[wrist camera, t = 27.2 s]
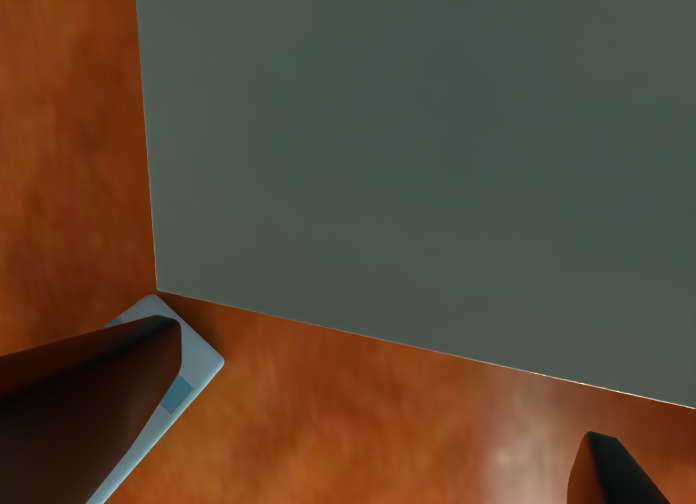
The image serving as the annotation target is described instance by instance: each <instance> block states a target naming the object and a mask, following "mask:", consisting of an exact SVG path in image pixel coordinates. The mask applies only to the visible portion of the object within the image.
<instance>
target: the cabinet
mask: <svg viewBox="0 0 696 504" xmlns="http://www.w3.org/2000/svg"><path fill="white" fill-rule="evenodd" d="M136 12H137V25H138V39H139V53H140V66H141V80H142V93H143V107H144V121H145V134H146V148H147V161H148V175H149V189H150V202H151V216H152V229H153V243H154V257H155V270H156V284H157V290H158V291H162V292H166V293H171V294H175V295H180V296H185V297H189V298H194V299H198V300H203V301H207V302H212V303H216V304H221V305H225V306H230V307H234V308H239V309H244V310H248V311H253V312H257V313H262V314H266V315H271V316H275V317H280V318H284V319H289V320H293V321H298V322H303V323H307V324H312V325H316V326H321V327H325V328H330V329H334V330H339V331H343V332H348V333H352V334H357V335H361V336H366V337H371V338H375V339H380V340H384V341H389V342H393V343H398V344H402V345H407V346H411V347H416V348H420V349H425V350H430V351H434V352H439V353H443V354H448V355H452V356H457V357H461V358H466V359H470V360H475V361H479V362H484V363H488V364H493V365H498V366H502V367H507V368H511V369H516V370H520V371H525V372H529V373H534V374H538V375H543V376H547V377H552V378H557V379H561V380H566V381H570V382H575V383H579V384H584V385H588V386H593V387H597V388H602V389H606V390H611V391H616V392H620V393H625V394H629V395H634V396H638V397H643V398H647V399H652V400H656V401H661V402H665V403H670V404H674V405H679V406H684V407H688V408H693V409H696V0H136Z"/></svg>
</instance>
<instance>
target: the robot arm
mask: <svg viewBox="0 0 696 504" xmlns="http://www.w3.org/2000/svg"><path fill="white" fill-rule="evenodd" d="M181 364H182V330H181V325H180V323H179V321H178V320H176V319H173V318H169V317H165V316H162V315H152V316H149V317H145V318H141V319H138V320H134V321H130V322H127V323H123V324H119V325H116V326H112V327H108V328H105V329H101V330H97V331H94V332H90V333H86V334H83V335H79V336H75V337H72V338H68V339H64V340H61V341H57V342H53V343H50V344H46V345H42V346H39V347H35V348H31V349H27V350H24V351H20V352H16V353H13V354H9V355H5V356H2V357H0V504H86V503H87V502H88V500H89V499H90V498H91V497H92V495H93V494H94V493H95V492H96V490H97V489H98V488H99V487H100V485H101V484H102V483H103V482H104V480H105V479H106V478H107V477H108V475H109V474H110V473H111V472H112V470H113V469H114V468H115V467H116V465H117V464H118V463H119V462H120V461H121V459H122V458H123V457H124V455H125V454H126V453H127V451H128V450H129V449H130V448H131V446H132V445H133V443H134V442H135V440H136V439H137V437H138V436H139V435H140V433H141V431H142V430H143V428H144V427H145V425H146V424H147V422H148V421H149V419H150V417H151V416H152V414H153V413H154V411H155V410H156V408H157V407H158V405H159V403H160V402H161V400H162V399H163V397H164V396H165V394H166V393H167V391H168V389H169V388H170V386H171V385H172V383H173V382H174V380H175V379H176V377H177V375H178V373H179V371H180V368H181ZM567 504H670V502H669V501H668V500H667V499H666V498H665V496H664V495H663V494H662V493H661V491H660V490H659V489H658V488H657V486H656V485H655V484H654V483H653V482H652V480H651V479H650V478H649V477H648V475H647V474H646V473H645V472H644V471H643V469H642V468H641V467H640V466H639V464H638V463H637V462H636V461H635V459H634V458H633V457H632V456H631V455H630V453H629V452H628V451H627V450H626V448H625V447H624V446H623V445H622V444H621V442H620V441H619V440H618V439H616V438H614V437H611V436H607V435H603V434H599V433H596V432H592V431H589V432H587V433H586V434H585V435H584V437H583V439H582V441H581V444H580V447H579V450H578V453H577V456H576V459H575V462H574V465H573V468H572V470H571V474H570V477H569V482H568V491H567Z"/></svg>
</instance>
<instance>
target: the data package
mask: <svg viewBox="0 0 696 504" xmlns="http://www.w3.org/2000/svg"><path fill="white" fill-rule="evenodd" d="M152 315H162V316H165V317H169V318H173V319H176V320H178V321H179V323H180V325H181V330H182V364H181V368H180V371H179V373H178V375H177V377H176V379H175V380H174V382H173V383H172V385H171V386H170V388H169V389H168V391H167V393H166V394H165V396H164V397H163V399H162V400H161V402H160V403H159V405H158V407H157V408H156V410H155V411H154V413H153V414H152V416H151V417H150V419H149V421H148V422H147V424H146V425H145V427H144V428H143V430H142V431H141V433H140V435H139V436H138V437H137V439H136V440H135V442H134V443H133V445H132V446H131V448H130V449H129V450H128V451H127V453H126V454H125V455H124V457H123V458H122V459H121V461H120V462H119V463H118V464H117V465H116V467H115V468H114V469H113V470H112V472H111V473H110V474H109V475H108V477H107V478H106V479H105V480H104V482H103V483H102V484H101V485H100V487H99V488H98V489H97V490H96V492H95V493H94V494H93V495H92V497H91V498H90V499H89V500H88V502H87V503H86V504H103V503H104V502H105V501H106V500H107V499H108V497H109V496H110V495H111V494H112V493H113V492H114V491H115V489H116V488H117V487H118V486H119V485H120V484H121V483H122V481H123V480H124V479H125V478H126V477H127V476H128V475H129V473H130V472H131V471H132V470H133V469H134V468H135V467H136V465H137V464H138V463H139V462H140V461H141V460H142V458H143V457H144V456H145V455H146V454H147V453H148V452H149V450H150V449H151V448H152V447H153V446H154V445H155V444H156V442H157V441H158V440H159V439H160V438H161V437H162V436H163V434H164V433H165V432H166V431H167V430H168V429H169V428H170V426H171V425H172V424H173V423H174V422H175V421H176V419H177V418H178V417H179V416H180V415H181V414H182V413H183V411H184V410H185V409H186V408H187V407H188V406H189V405H190V403H191V402H192V401H193V400H194V399H195V398H196V397H197V395H198V394H199V393H200V392H201V391H202V390H203V388H204V387H205V386H206V385H207V384H208V383H209V382H210V380H211V379H212V378H213V377H214V376H215V375H216V374H217V372H218V371H219V370H220V369H221V368H222V366H223V365H224V358H223V357H222V356H221V355H220V354H219V353H218V352H217V351H216V350H215V349H214V348H213V347H211V346H210V345H209V344H208V343H207V342H206V341H205V340H204V339H203V338H202V337H201V336H200V335H199V334H198V333H197V332H196V331H194V330H193V329H192V328H191V327H190V326H189V325H188V324H187V323H186V322H185V321H184V320H183V319H182V318H181V317H180V316H179V315H177V314H176V313H175V312H174V311H173V310H172V309H171V308H170V307H169V306H168V305H167V304H166V303H165V302H164V301H163V300H162V299H160V298H159V297H158V296H157V295H155V294H149V295H147V296H145V297H144V298H142V299H141V300H139V301H138V302H137V303H135V304H134V305H133V306H131V307H130V308H128V309H127V310H126V311H124V312H123V313H122V314H120V315H119V316H118V317H116V318H115V319H114V320H112V321H111V322H110V323H108V324H107V325H105V326H104V327H103V328H101V329H105V328H108V327H112V326H116V325H119V324H123V323H127V322H130V321H134V320H138V319H141V318H145V317H149V316H152ZM101 329H100V330H101Z"/></svg>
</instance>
